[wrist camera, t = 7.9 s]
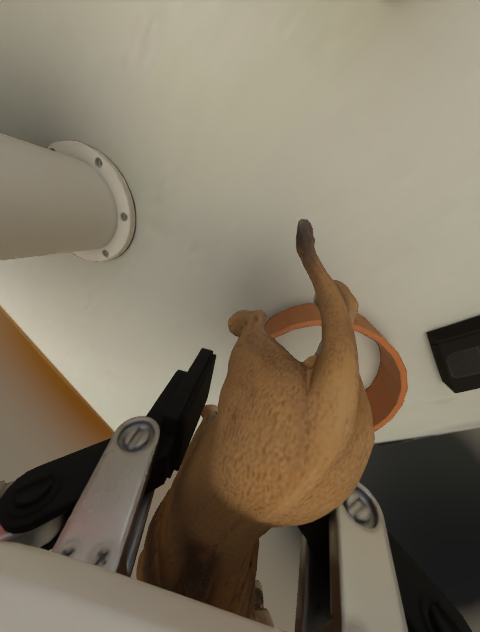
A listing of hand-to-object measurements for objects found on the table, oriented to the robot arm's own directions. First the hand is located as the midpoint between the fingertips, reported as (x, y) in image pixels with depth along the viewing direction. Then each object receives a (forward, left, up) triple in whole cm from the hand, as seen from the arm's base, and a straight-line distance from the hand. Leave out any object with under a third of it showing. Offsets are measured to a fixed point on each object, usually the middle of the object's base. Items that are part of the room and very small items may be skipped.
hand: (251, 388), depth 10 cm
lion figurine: (0, 0, -1) cm, 1 cm away
